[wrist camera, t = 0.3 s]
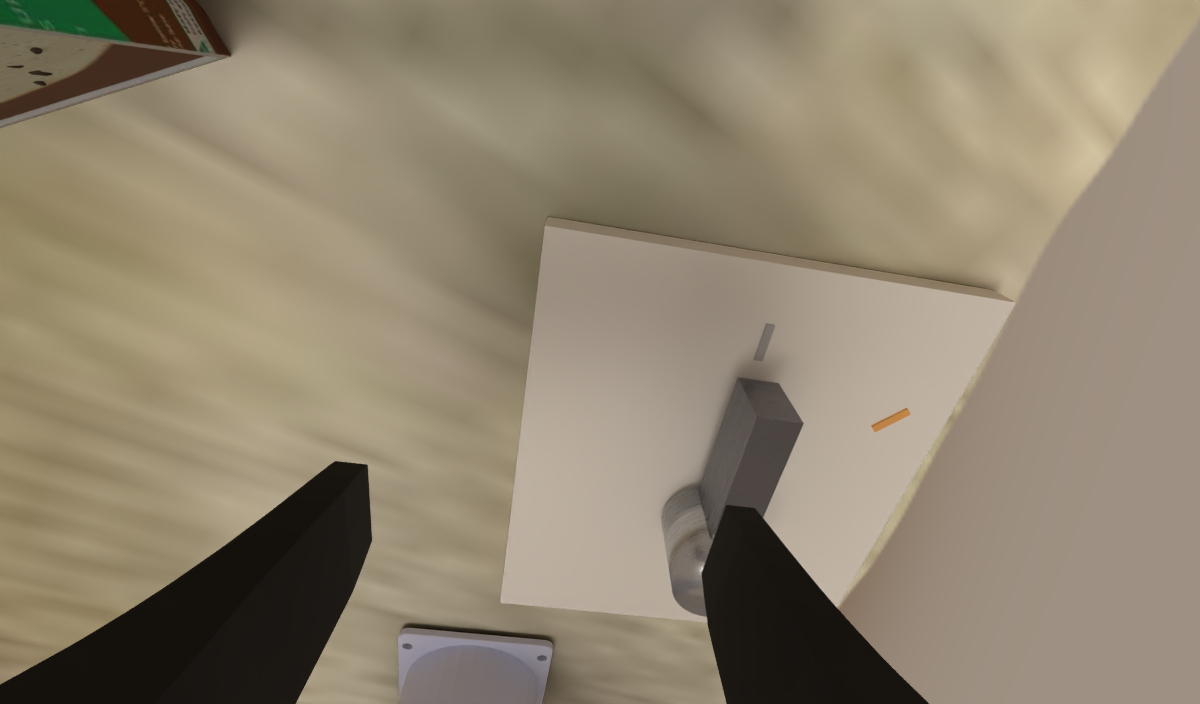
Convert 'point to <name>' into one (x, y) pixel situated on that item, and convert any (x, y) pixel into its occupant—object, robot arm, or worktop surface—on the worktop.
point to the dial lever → (729, 481)
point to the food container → (95, 49)
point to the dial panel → (720, 404)
